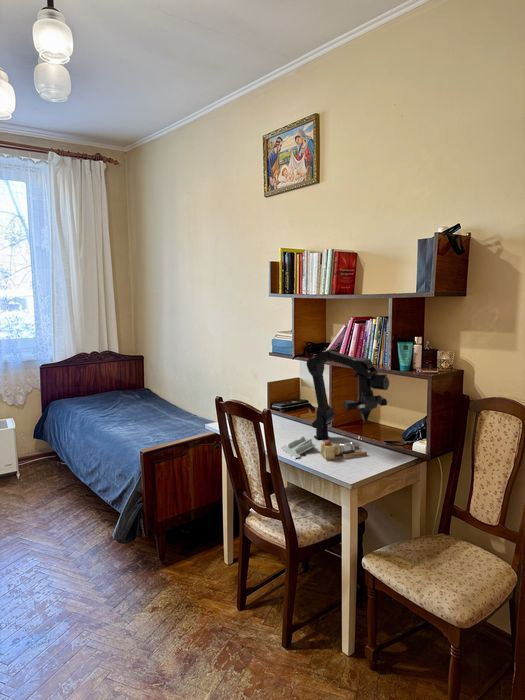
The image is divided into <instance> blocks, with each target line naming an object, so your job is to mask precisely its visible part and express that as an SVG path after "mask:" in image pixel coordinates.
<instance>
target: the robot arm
mask: <svg viewBox="0 0 525 700" xmlns="http://www.w3.org/2000/svg"><path fill="white" fill-rule="evenodd" d="M328 361H332V362H335V363H338V364H341V365H344V366H347V367H349V368H351V369H352V370H353V371H354V372H355V373H354V375H353V376H352V377H353V378H357V389H356V392H357V398H356V400H357V401H354V400H353V399H350V400H349V399H347V400H344V401H343V402H342V407H343V408H345V409H346V410H347V411H352V410H356V409H357V410H358V411H359V413H360V415H361V417H362V420H363V422H364V423H367V422H368V420H369V417H370V414H371V411H373V410H374V409H376V408H378V405H379V406H380V407H382V406H384V407H385V406H387V405H388V401H387V399H386V398H385V397H383V396H382V395H380V394H379V395H374V390H381V391H388V389H389V386H390V380H389V378H388V375H387V373H386V374H385V373H379V372H378V370H377V369H376V367H375V365H374V364H373V361H372V360H371V359H370V358H368V357H366V358H365V357H353V356H351V355H347V354H344V353H342V352H338V351H334V350H332V349H327V350H323V352H321V353H319V354H318V355H316V356H314V357H309V358H308V359H307V361H306V367H307V370H308V372H309V374H310V375H311V377H312V380H313V381H312V382H313V387H314V391H315V392H314V393H315V397H316V403H317V407H316V408H317V409H316V413H315V417H316V419H314V421H313V422H311V426H312V428H314V429H315V435H314V436H313V438H314V439H315V440H316V441H326V440H331V439H332V438H331V437H330V436H329V425H331V424H332V422H333V420H335V416H336V413H335V410H334V407H333V406H330V405H329V402H328V401H329V400H328V397H327V396H328V395H327V392H326V386H325V385H326V384H325V379H324V372H325V363H327V362H328ZM372 389H373V390H372Z"/></svg>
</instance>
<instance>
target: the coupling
mask: <svg viewBox="0 0 525 700" xmlns="http://www.w3.org/2000/svg"><path fill="white" fill-rule="evenodd" d="M338 444H340V446H341V450H342V453H341V454H340V455H343V454H348V453H355V446H354V445H355V443H354V442H353V441H349V442H346V443H342V442H340V443H338Z"/></svg>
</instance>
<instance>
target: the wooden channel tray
mask: <svg viewBox="0 0 525 700" xmlns="http://www.w3.org/2000/svg"><path fill="white" fill-rule="evenodd" d="M354 446H355V453H348V454H343V455H340V454H341V453H342V450H341V446H340V444H339V443H338V444H337V443H335V444H333V443H332V441H331V440H330V439H326V440H323V442H320V452H319V455H321V457H323V459H324V460H325V461H326V462H327V463H328V462H333V461H340V460H341V461H342V460H348V459H355V458H363V457H368V452H367V451H363V450H361V449H360V445H359V444H354Z"/></svg>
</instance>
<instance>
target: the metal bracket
mask: <svg viewBox="0 0 525 700" xmlns="http://www.w3.org/2000/svg"><path fill="white" fill-rule="evenodd" d="M312 440H313V439H312V438H309V439H308V438H306V437H305V436H303V435H302V436H300V438H298V439H295V440H293V441H290V443H288V444H287V445H286V444H285V445H282V446H281V447H280V448H281V449H283V450H284V451H285V454H287V453H288V454H290V455H291V456H294V457H295V458H297V459H298V458H301V454H303V453H305V452H307V451H309V450H310V449H314V447H316V446H317V444H316V443H314V442H313V441H312ZM280 448H279V449H280ZM281 449H280V450H281ZM284 451H283V452H284ZM288 454H287V455H288ZM290 455H289V456H290ZM291 456H290V457H291Z"/></svg>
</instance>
